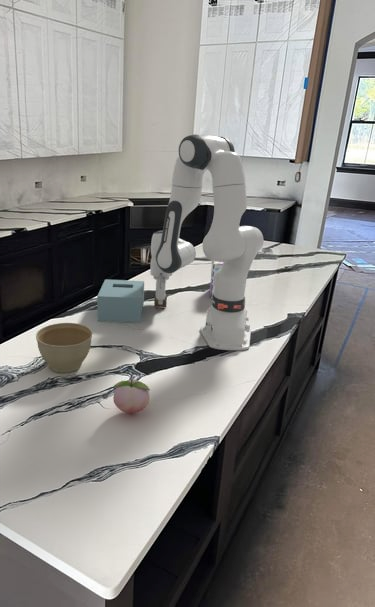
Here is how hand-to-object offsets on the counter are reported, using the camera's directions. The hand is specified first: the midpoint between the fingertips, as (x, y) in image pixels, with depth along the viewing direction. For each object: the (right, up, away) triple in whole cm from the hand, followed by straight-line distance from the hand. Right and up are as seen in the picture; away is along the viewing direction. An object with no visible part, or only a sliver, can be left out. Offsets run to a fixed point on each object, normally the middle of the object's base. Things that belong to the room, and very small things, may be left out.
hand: (160, 302), depth 187 cm
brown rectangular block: (0, -2, +1) cm, 2 cm away
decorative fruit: (-3, -29, -69) cm, 75 cm away
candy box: (+24, +4, +20) cm, 32 cm away
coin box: (-15, -4, -6) cm, 17 cm away
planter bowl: (-26, -20, -48) cm, 58 cm away
